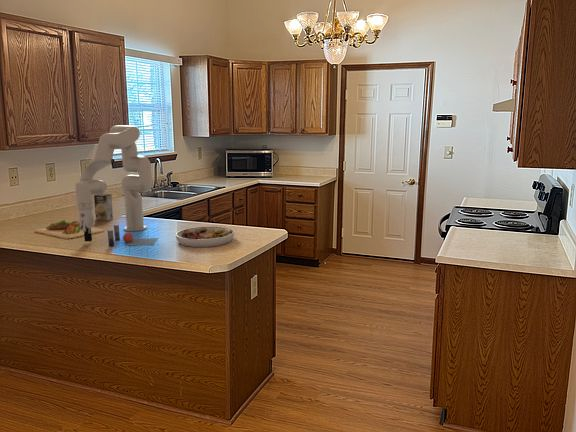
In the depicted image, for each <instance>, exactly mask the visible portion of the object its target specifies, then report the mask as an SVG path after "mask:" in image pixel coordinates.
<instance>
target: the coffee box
mask: <svg viewBox="0 0 576 432" xmlns="http://www.w3.org/2000/svg"><path fill="white" fill-rule="evenodd" d="M112 197H113V196H112V193H111V194H109V193H102V194H93V203H94V216H95V221H96V220H97V221H110V220H113V219H114V213H113V212H114V211H113V210H114V209H113V200H112V199H113V198H112Z"/></svg>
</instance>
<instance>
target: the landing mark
mask: <svg viewBox="0 0 576 432" xmlns="http://www.w3.org/2000/svg"><path fill="white" fill-rule="evenodd" d="M158 239H159V238H158V237H153V238H151V237H150V238H149V237H148V238H133V240H132V241H131V242H129V243H127V242H126V244H125V247H128V246H129V247H132V246H133V247H134V246H135V247H136V246H154V245H155V243H156V242H157V241H158Z"/></svg>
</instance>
